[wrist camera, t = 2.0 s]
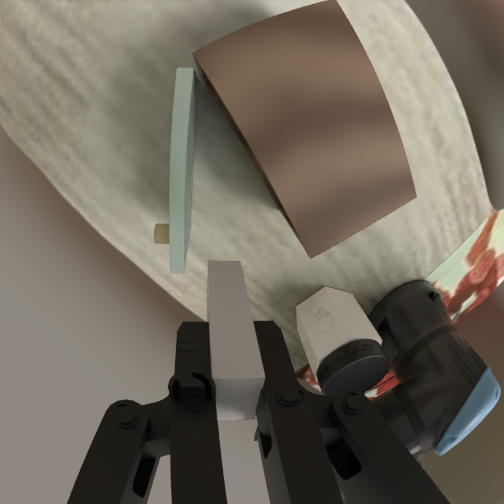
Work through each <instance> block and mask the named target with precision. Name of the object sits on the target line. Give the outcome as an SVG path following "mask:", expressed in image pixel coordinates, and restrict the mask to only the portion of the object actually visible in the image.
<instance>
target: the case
mask: <svg viewBox="0 0 504 504" xmlns="http://www.w3.org/2000/svg"><path fill="white" fill-rule="evenodd" d="M193 56H194V59H195V62H196V65H197V68H198V71H199V74H200V76H201V78H202V79H203V81H204V82H205V84H206V86H207V87H208V89H209V90H210V92H211V94H212V95H213V97H214V98H215V100H216V102H217V103H218V105H219V106H220V108H221V110H222V111H223V113H224V115H225V116H226V118H227V119H228V121H229V123H230V124H231V126H232V128H233V129H234V131H235V133H236V134H237V136H238V138H239V140H240V141H241V143H242V145H243V146H244V148H245V150H246V151H247V153H248V155H249V157H250V158H251V160H252V162H253V163H254V165H255V167H256V169H257V170H258V172H259V174H260V176H261V178H262V179H263V181H264V183H265V185H266V186H267V188H268V190H269V192H270V194H271V195H272V197H273V199H274V201H275V203H276V204H277V206H278V208H279V210H280V212H281V213H282V215H283V216H284V218H285V219H286V221H287V222H288V224H289V225H290V227H291V229H292V230H293V232H294V233H295V235H296V236H297V238H298V239H299V241H300V243H301V244H302V246H303V247H304V249H305V250H306V252H307V254H308V255H309V257H310V258H311V259H312V258H313V257H315V256H317V255H319V254H321V253H322V252H324V251H326V250H328V249H329V248H331V247H333V246H335V245H337V244H338V243H340V242H342V241H344V240H345V239H347V238H349V237H351V236H352V235H354V234H356V233H357V232H359V231H361V230H363V229H364V228H366V227H368V226H370V225H371V224H373V223H375V222H376V221H378V220H380V219H381V218H383V217H385V216H386V215H388V214H390V213H392V212H393V211H395V210H397V209H398V208H400V207H401V206H403V205H405V204H406V203H408V202H410V201H411V200H413V199H415V198H416V197H417V196H416V191H415V187H414V183H413V179H412V175H411V171H410V167H409V164H408V160H407V157H406V153H405V150H404V147H403V143H402V140H401V137H400V134H399V131H398V128H397V125H396V122H395V120H394V117H393V114H392V111H391V109H390V106H389V103H388V101H387V98H386V96H385V93H384V91H383V89H382V86H381V84H380V82H379V79H378V77H377V75H376V72H375V70H374V68H373V66H372V64H371V62H370V60H369V58H368V56H367V54H366V52H365V50H364V48H363V46H362V44H361V42H360V40H359V38H358V36H357V34H356V33H355V31H354V29H353V27H352V25H351V24H350V22H349V20H348V19H347V17H346V15H345V14H344V12H343V10H342V9H341V7H340V5H339V4H338V2H337V1H336V0H327V1H323V2H319V3H315V4H312V5H308V6H305V7H301V8H298V9H295V10H291V11H288V12H285V13H282V14H279V15H276V16H274V17H271V18H268V19H265V20H263V21H260V22H258V23H255V24H253V25H250V26H248V27H245V28H243V29H241V30H238V31H236V32H234V33H232V34H229V35H227V36H225V37H223V38H221V39H219V40H217V41H215V42H213V43H211V44H209V45H207V46H205V47H203V48H201V49H199V50H197V51H195V52H194V53H193Z"/></svg>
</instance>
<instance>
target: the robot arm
mask: <svg viewBox="0 0 504 504" xmlns="http://www.w3.org/2000/svg"><path fill="white" fill-rule="evenodd" d="M368 319H369V320H370V322H371V324H372V325H373V327H374V328H375V330H376V331H377V333H378V334H379V336H380V338H381V339H382V344H381V347H382V348H383V350H384V351H385V353H386V355H387V356H388V358H389V360H390V367H389V370H390V371H391V372H392V373H394V375H395V376H396V378H397V380H398V381H399V384H398V385H396V386H394V387H393V388H391V389H389V390H387V391H386V392H384V393H382V394H380V395H379V396H377V397H375V398H373V399H371V400H369V399H368V398H367V397H366V396H365V395H364V394H363V393H361V392H359V391H357V390H351V389H347V390H343V391H341V392H339V393H338V394H337V395H336V396H335V397H332V396H325V395H318V394H313V393H311V392H309V391H307V390H306V389H305V388H304V387H302V386H301V385H300V384H299V382H298V380H297V378H296V375H295V372H294V369H293V365H292V362H291V359H290V356H289V353H288V350H287V346H286V343H285V341H284V337H283V334H282V331H281V329H280V328H279V326H278V325H277V324H276V323H275V322H274V321H253V319H252V314H251V310H250V305H249V300H248V296H247V291H246V286H245V282H244V277H243V272H242V267H241V263H240V261H208V278H207V322H183V323H182V324H181V326H180V327H179V330H178V331H177V343H176V356H175V374H174V375H173V376H172V378H171V379H170V381H169V384H168V389H169V395H168V396H167V397H166V398H164V399H163V400H161V401H158V402H155V403H150V404H146V405H141V404H139V403H137V402H135V401H132V400H120V401H116V402H115V403H113V404H111V405H110V406H109V408H108V409H107V410H106V412H105V415H104V417H103V419H102V421H101V423H100V425H99V428H98V430H97V432H96V434H95V436H94V439H93V441H92V443H91V446H90V448H89V450H88V453H87V455H86V457H85V460H84V462H83V464H82V467H81V469H80V472H79V474H78V476H77V479H76V482H75V484H74V487H73V489H72V492H71V495H70V497H69V500H68V503H67V504H147V501H148V497H149V494H150V490H151V487H152V483H153V480H154V477H155V473H156V470H157V467H158V463H159V460H160V457H161V456H165V455H170V459H171V460H170V461H171V462H170V464H171V492H172V493H171V495H172V504H227V498H226V491H225V483H224V475H223V467H222V460H221V450H220V440H219V431H218V421H226V420H227V421H228V420H247V419H255V415H257V420H258V426H257V430H256V433H255V437H254V441H257V440H258V443H259V448H260V453H261V459H262V464H263V469H264V474H265V479H266V484H267V489H268V494H269V499H270V504H450V503H449V501H448V500H447V499H446V497H445V496H444V495H443V494H442V492H441V491H440V490H439V488H438V487H437V486H436V485H435V483H434V482H433V481H432V480H431V478H430V477H429V476H428V474H427V473H426V472H425V471H424V469H423V466H422V464H421V461H420V459H419V458H421V457H422V456H423V455H425V454H427V453H428V452H430V451H432V450H434V452H435V453H437V454H438V455H443V454H444V453H446V452H447V451H448V450H450V449H451V448H452V447H454V446H455V445H456V444H458V443H459V442H460V441H461V440H462V439H463V438H464V437H465V436H466V435H468V434H469V433H470V432H471V431H472V430H473V429H474V428H475V427H476V426H477V425H478V424H479V423H480V422H481V421H482V419H484V417H485V416H486V415H487V414H488V413H489V412H490V410H491V409H492V408H493V407H494V405H495V404H496V402H497V401H498V399H499V396H500V386H499V384H498V382H497V381H496V379H495V377H494V376H493V374H492V373H491V369H490V367H488V366H487V365H486V364H485V362H484V361H483V360H482V359H481V357H480V356H479V355H478V354H477V352H476V351H475V350H474V349H473V347H472V346H471V345H470V344H469V343H468V341H467V340H466V339H465V338H464V336H463V335H462V334H461V333H460V332H459V331H458V329H457V328H456V327H455V326H454V325H453V323H452V321H451V318H450V315H449V313H448V310H447V308H446V305H445V303H444V300H443V298H442V296H441V294H440V293H439V291H438V290H437V289H436V288H435V287H434V286H433V285H432V284H430V283H429V282H426V281H414V282H411V283H408V284H405V285H403V286H401V287H399V288H398V289H396V290H395V291H393V292H392V293H390V294H389V295H388V296H387V297H385V298H384V299H383V300H382V301H381V302H380V303H379V304H378V305H377V307H376V308H375V309H374V310H373V312H372V313H371V314H370V316H369V318H368Z"/></svg>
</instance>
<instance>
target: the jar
mask: <svg viewBox="0 0 504 504" xmlns="http://www.w3.org/2000/svg"><path fill="white" fill-rule="evenodd" d="M296 315H297V332H298V334H299V337H300V340H301V342H302V345H303V348H304V350H305V353H306V356H307V359H308V361H309V364H310V367H311V369H312V372H313V375H314V378H315V380H316V382H318V383H319V386H320V387H321V390H322V393H323V395H325V396H332V397H335V396H336V395H337V394H338V393H339V392H341V391H343V390H347V389H351V390H357V391H359V392H361V393H365V392H366V391H368V390H370V389H371V388H373V387H374V386H375V385H377V384H378V383H379V382H380V381H381V380H382V379H383V378H384V376H385V375H386V374H387V372H388V370H389V367H390V360H389V358H388V356H387V355H386V353H385V351H384V350H383V348H382V347H381V344H382V339H381V338H380V336H379V334H378V333H377V331H376V330H375V328H374V327H373V325H372V324H371V322H370V320H369V319H368V317H367V316H366V314H365V313H364V311H363V310H362V308H361V307H360V305H359V304H358V302H357V301H356V299H355V298H354V296H353V295H352V294H351V293H348V292H344V291H341V290H337V289H334V288H330V287H326V286H325V287H323V288H322V289H320V290H319V291H317V292H316V293H315V294H313V295H312V296H310V297H309V298H307V299H306V300H304V301H303V302H302V303H300V304H299V305H297V306H296Z"/></svg>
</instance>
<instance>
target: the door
mask: <svg viewBox="0 0 504 504" xmlns="http://www.w3.org/2000/svg"><path fill="white" fill-rule="evenodd" d="M199 86H200V82H199V80H198V77H197V75H196V72H195V70H194V68H177V72H176V81H175V91H174V102H173V114H172V129H171V147H170V175H169V224H156V225H155V230H154V240H155V243H160V244H170V267H171V273H183V274H184V272H185V264H186V257H187V249H188V242H189V235H190V228H191V206H192V180H193V161H194V145H195V131H196V118H197V107H198V96H199Z"/></svg>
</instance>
